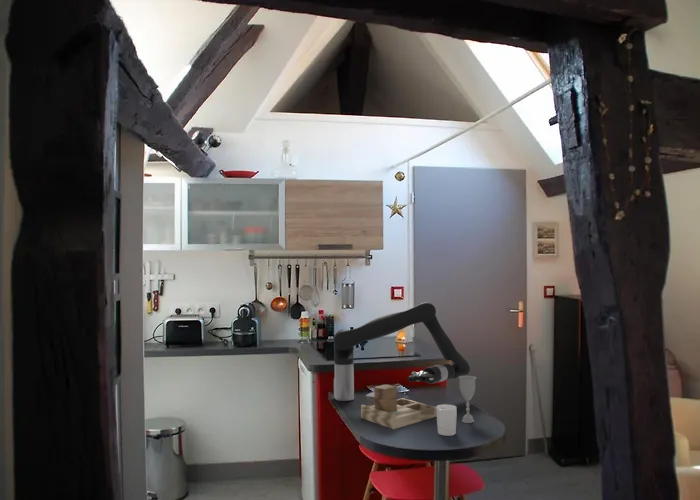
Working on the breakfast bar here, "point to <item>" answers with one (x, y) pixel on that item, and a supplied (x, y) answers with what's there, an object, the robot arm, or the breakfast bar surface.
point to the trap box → (399, 414)
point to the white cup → (446, 419)
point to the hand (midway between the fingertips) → (408, 379)
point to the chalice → (467, 394)
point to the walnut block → (386, 398)
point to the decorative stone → (370, 399)
